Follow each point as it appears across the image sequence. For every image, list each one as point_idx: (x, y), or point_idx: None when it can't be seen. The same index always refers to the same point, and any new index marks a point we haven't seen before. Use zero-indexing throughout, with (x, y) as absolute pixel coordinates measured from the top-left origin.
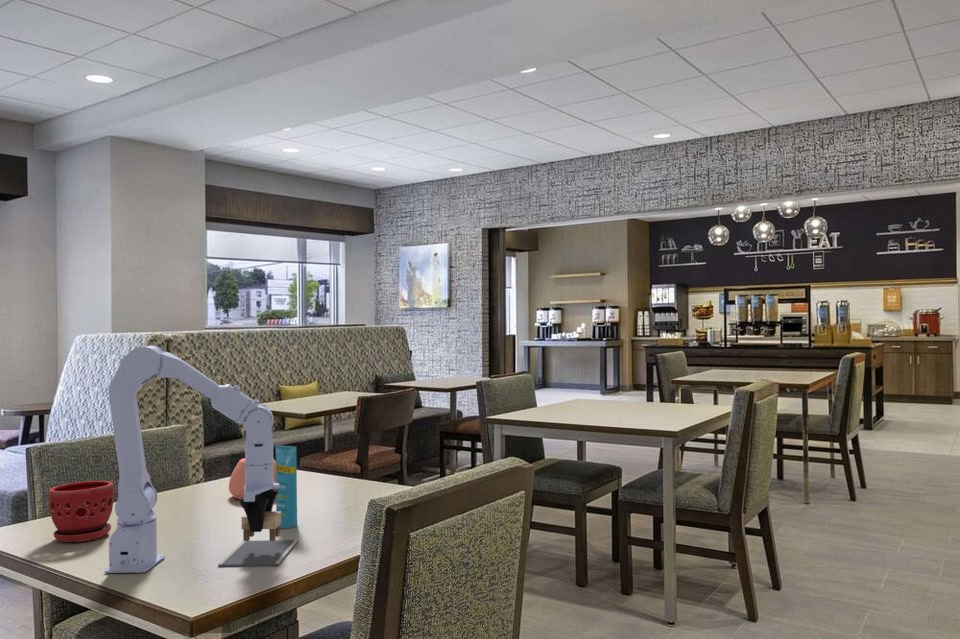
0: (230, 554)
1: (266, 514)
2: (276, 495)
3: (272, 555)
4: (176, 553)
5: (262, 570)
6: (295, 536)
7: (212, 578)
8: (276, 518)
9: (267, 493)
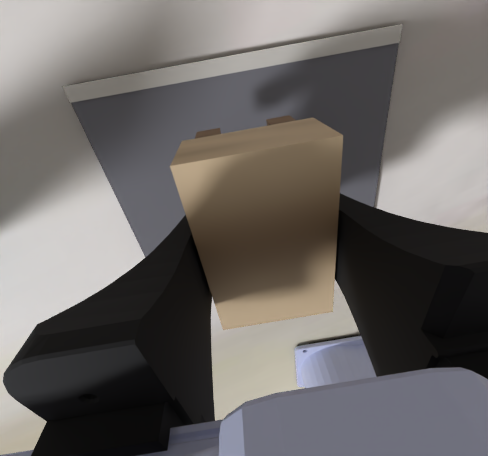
0: None
1: (272, 227)
2: (73, 309)
3: (288, 108)
4: (263, 343)
5: (433, 75)
6: (4, 137)
7: (462, 199)
8: (305, 135)
9: (174, 376)
